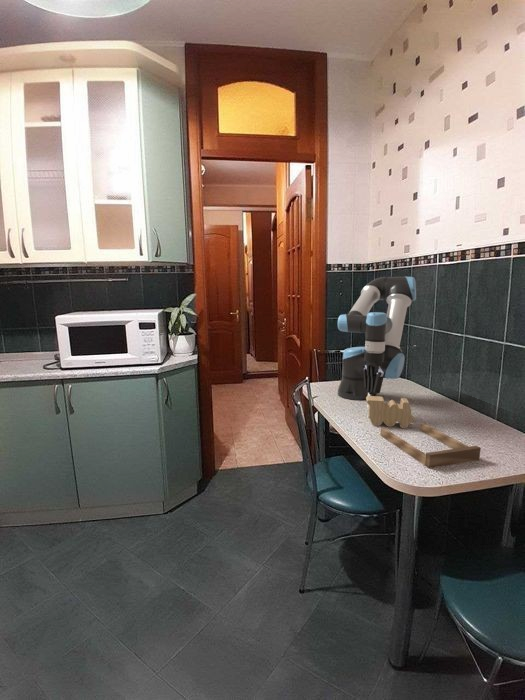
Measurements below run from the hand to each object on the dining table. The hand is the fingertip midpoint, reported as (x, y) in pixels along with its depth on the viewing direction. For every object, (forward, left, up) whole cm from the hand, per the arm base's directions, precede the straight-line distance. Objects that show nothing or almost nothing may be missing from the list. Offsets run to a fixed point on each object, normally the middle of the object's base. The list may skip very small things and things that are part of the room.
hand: (370, 408), depth 142 cm
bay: (+31, 0, -2) cm, 31 cm away
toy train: (+12, 0, -3) cm, 12 cm away
